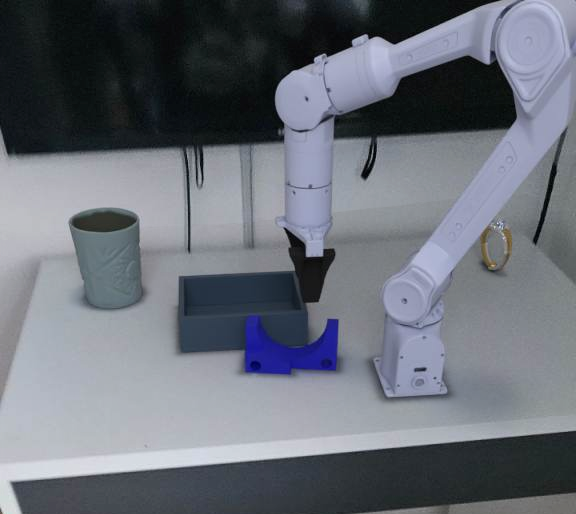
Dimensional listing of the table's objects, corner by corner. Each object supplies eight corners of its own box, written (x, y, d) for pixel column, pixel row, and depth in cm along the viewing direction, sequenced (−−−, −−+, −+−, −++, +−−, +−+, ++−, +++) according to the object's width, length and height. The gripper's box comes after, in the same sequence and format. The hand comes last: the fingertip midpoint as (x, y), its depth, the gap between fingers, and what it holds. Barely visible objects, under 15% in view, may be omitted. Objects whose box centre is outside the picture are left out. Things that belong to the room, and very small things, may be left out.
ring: (472, 262, 128) (480, 214, 122) (490, 259, 128) (498, 211, 123) (492, 279, 123) (501, 229, 117) (510, 276, 123) (519, 227, 118)
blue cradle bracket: (245, 372, 102) (243, 331, 98) (250, 355, 105) (248, 315, 101) (335, 376, 101) (337, 335, 97) (337, 359, 104) (338, 319, 100)
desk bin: (307, 345, 107) (308, 312, 103) (181, 352, 106) (178, 318, 102) (296, 302, 117) (297, 270, 114) (182, 307, 116) (178, 275, 112)
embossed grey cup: (79, 287, 121) (65, 211, 113) (142, 278, 124) (132, 203, 116) (87, 315, 114) (72, 236, 106) (154, 305, 116) (144, 227, 108)
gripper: (270, 163, 96) (272, 266, 105) (280, 203, 85) (281, 315, 94) (326, 161, 97) (323, 264, 106) (342, 201, 86) (338, 312, 95)
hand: (307, 288), depth 100 cm, fingers open, 7 cm apart
